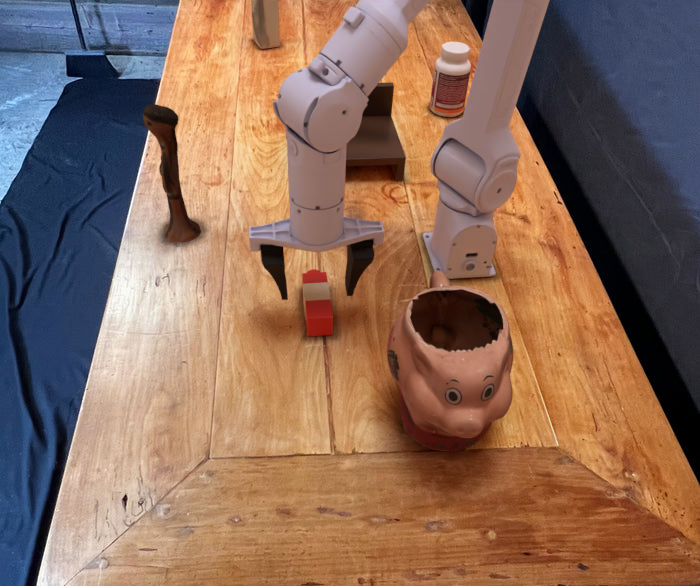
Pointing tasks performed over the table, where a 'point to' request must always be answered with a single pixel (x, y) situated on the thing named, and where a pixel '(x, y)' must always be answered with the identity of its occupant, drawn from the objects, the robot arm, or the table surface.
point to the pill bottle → (450, 80)
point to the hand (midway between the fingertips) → (316, 292)
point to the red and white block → (317, 303)
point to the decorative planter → (451, 364)
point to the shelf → (377, 134)
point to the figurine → (170, 172)
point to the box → (266, 23)
